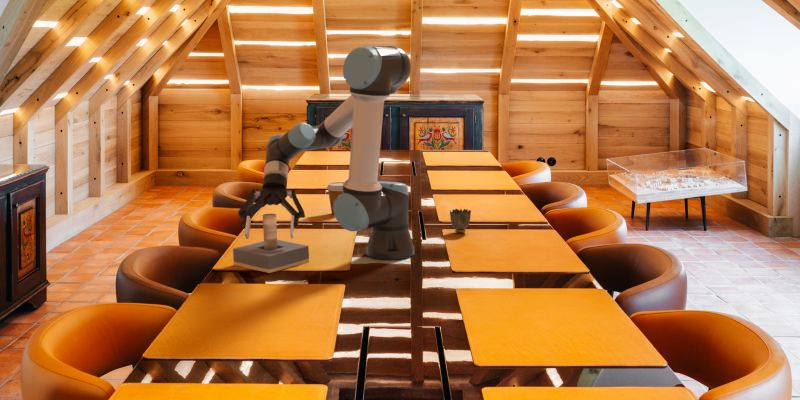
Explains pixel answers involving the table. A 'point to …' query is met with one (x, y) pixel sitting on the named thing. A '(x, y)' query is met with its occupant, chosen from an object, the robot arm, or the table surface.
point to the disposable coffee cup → (334, 192)
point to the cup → (460, 220)
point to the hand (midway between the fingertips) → (269, 236)
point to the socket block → (271, 256)
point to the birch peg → (270, 231)
